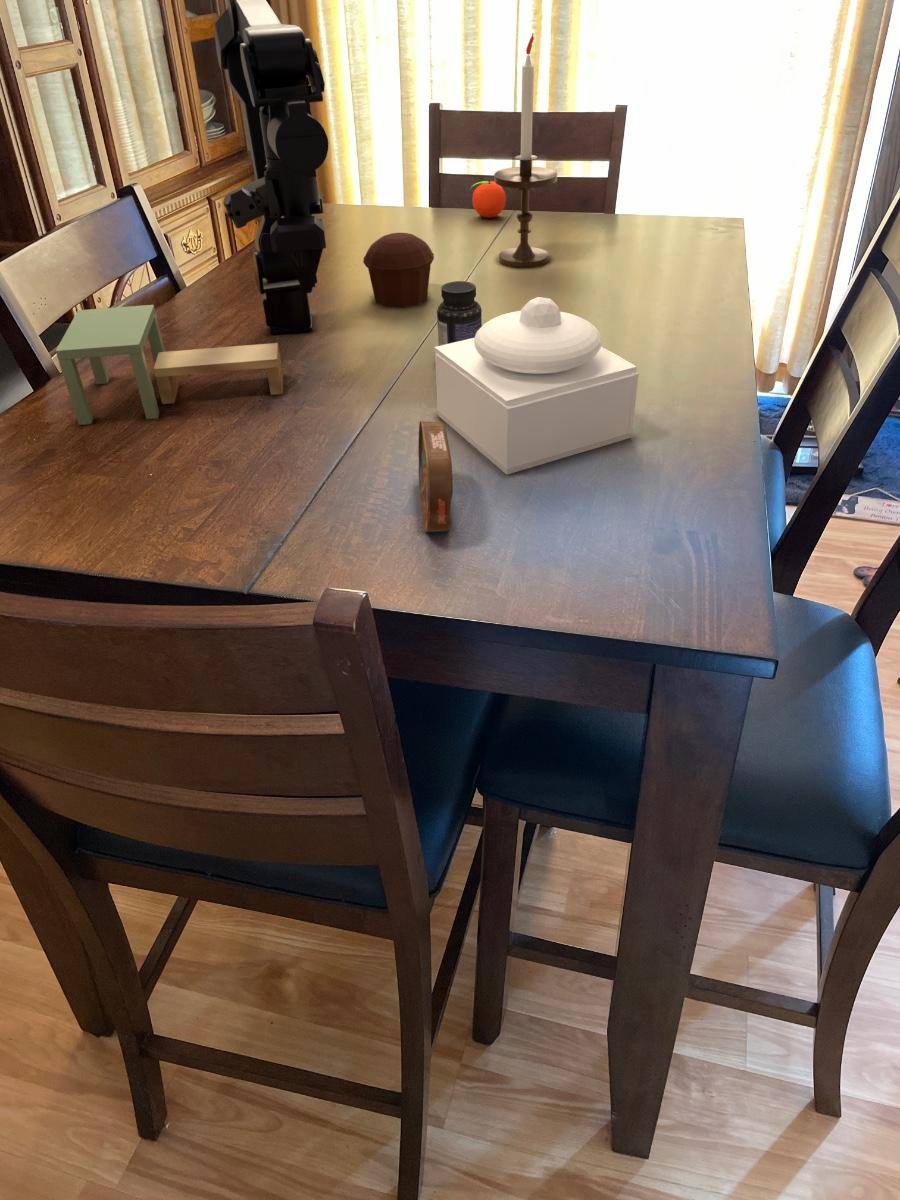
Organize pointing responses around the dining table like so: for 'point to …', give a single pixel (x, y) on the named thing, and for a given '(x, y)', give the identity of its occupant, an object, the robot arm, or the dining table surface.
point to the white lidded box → (535, 388)
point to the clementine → (488, 199)
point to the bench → (217, 365)
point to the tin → (435, 476)
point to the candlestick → (525, 178)
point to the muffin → (399, 269)
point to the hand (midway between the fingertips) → (307, 288)
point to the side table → (110, 351)
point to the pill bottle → (458, 313)
